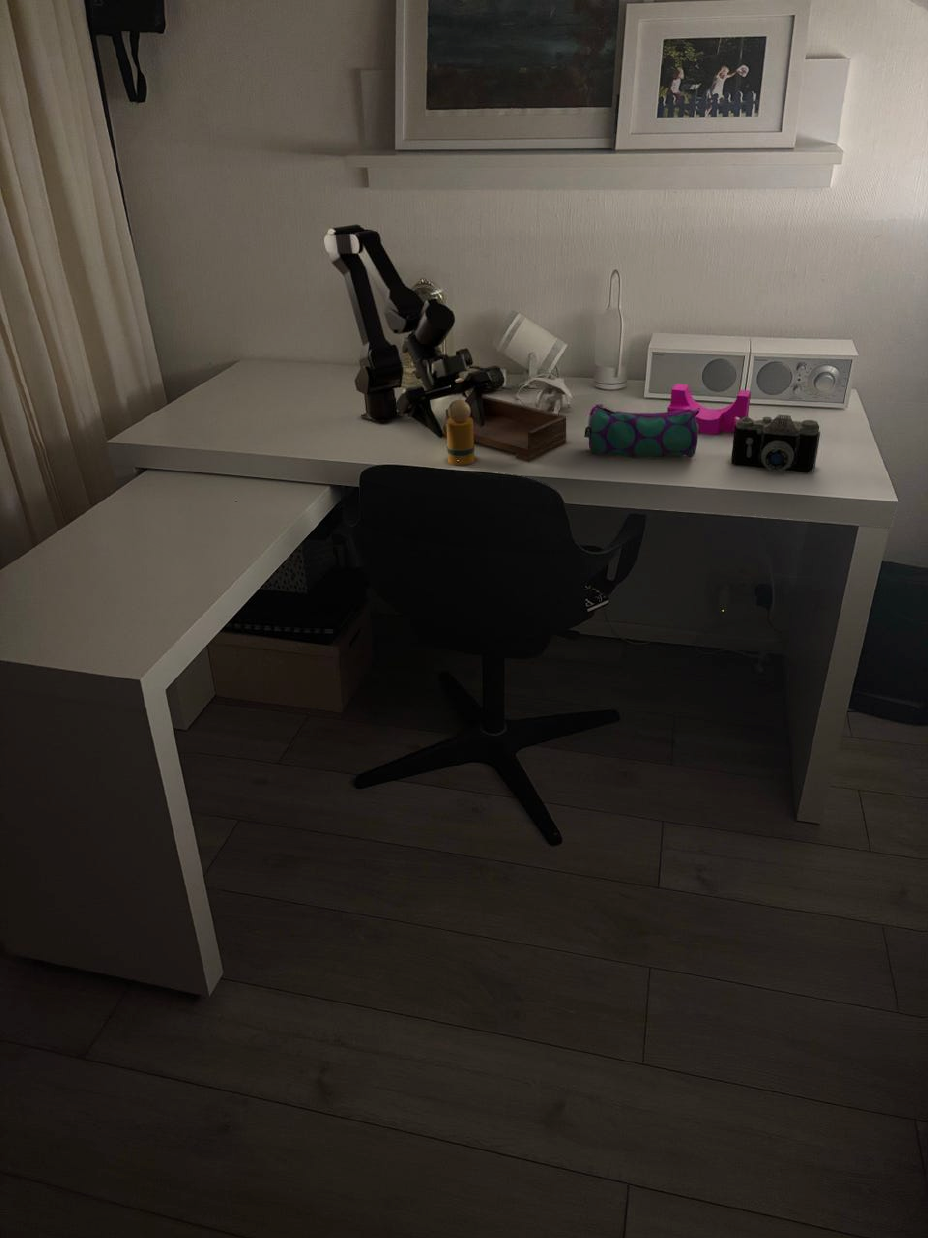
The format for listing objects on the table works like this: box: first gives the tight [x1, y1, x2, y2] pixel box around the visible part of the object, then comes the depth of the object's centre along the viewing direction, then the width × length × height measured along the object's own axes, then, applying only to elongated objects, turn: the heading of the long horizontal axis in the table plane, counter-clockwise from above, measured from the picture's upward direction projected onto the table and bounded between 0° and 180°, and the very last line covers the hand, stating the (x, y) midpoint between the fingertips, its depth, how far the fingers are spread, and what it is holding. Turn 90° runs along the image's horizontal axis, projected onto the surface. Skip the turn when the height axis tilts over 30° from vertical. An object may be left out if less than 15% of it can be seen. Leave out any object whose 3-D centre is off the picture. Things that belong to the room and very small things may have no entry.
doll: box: [445, 399, 475, 466], centre depth 183 cm, size 5×5×12 cm
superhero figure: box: [524, 377, 573, 414], centre depth 206 cm, size 10×9×20 cm
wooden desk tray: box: [442, 395, 568, 463], centre depth 193 cm, size 22×12×6 cm, turn 48°
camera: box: [730, 414, 821, 474], centre depth 175 cm, size 15×7×10 cm, turn 69°
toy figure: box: [456, 364, 506, 393], centre depth 220 cm, size 7×6×15 cm
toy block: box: [666, 383, 752, 436], centre depth 194 cm, size 15×6×8 cm, turn 66°
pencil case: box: [583, 403, 700, 459], centre depth 183 cm, size 21×9×10 cm, turn 78°
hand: (462, 431), depth 183 cm, fingers open, 9 cm apart
